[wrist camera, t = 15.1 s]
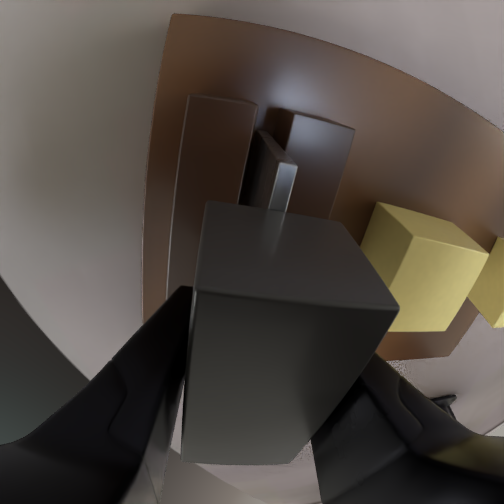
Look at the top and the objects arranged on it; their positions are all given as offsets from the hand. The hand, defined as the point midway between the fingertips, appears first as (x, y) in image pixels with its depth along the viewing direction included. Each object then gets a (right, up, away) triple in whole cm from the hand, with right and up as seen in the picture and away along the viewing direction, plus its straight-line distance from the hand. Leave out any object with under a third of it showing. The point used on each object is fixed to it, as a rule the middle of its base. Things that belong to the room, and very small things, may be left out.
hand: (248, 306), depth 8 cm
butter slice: (+15, 0, +7) cm, 17 cm away
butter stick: (+7, +1, +5) cm, 9 cm away
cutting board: (+6, +2, +7) cm, 9 cm away
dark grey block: (0, +2, +4) cm, 5 cm away
